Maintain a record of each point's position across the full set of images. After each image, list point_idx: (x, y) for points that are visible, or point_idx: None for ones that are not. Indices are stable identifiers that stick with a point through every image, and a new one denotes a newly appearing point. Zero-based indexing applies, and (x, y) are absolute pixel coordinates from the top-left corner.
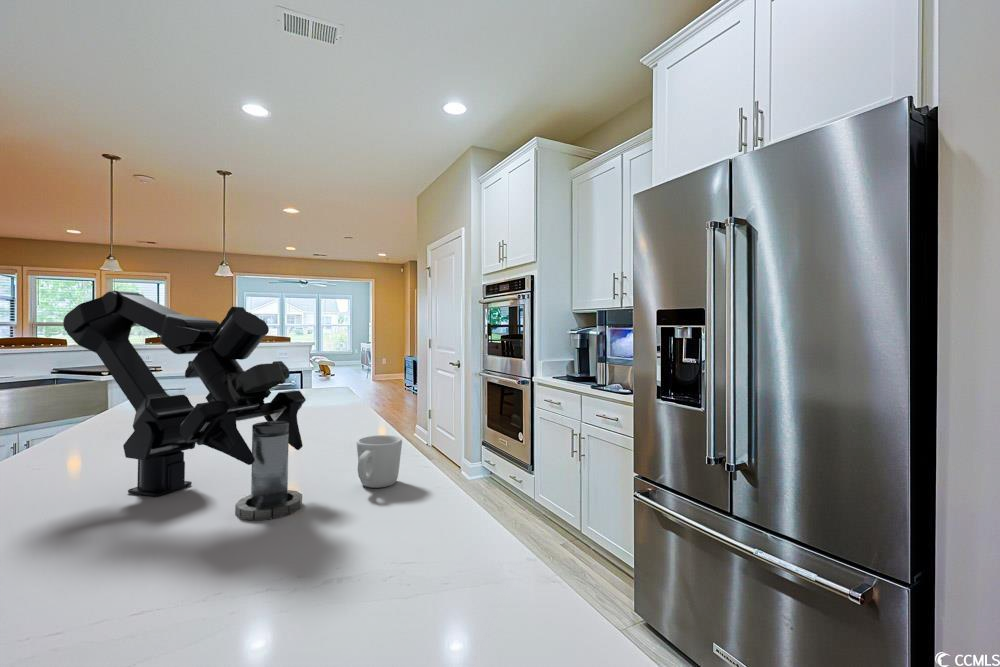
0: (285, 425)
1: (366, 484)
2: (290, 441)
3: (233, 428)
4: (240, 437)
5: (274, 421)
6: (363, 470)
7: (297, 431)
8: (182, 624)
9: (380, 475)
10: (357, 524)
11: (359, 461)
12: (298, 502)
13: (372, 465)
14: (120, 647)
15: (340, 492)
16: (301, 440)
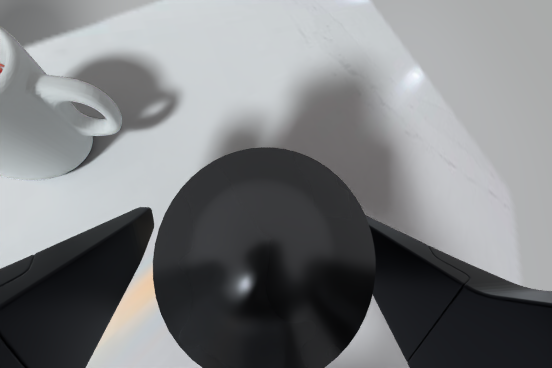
0: (258, 148)
1: (89, 149)
2: (131, 265)
3: (497, 290)
4: (426, 253)
5: (181, 311)
6: (117, 106)
7: (83, 239)
8: (436, 126)
9: (77, 109)
10: (249, 98)
11: (102, 101)
12: None
13: (69, 104)
14: (465, 140)
15: (127, 189)
16: (123, 214)
